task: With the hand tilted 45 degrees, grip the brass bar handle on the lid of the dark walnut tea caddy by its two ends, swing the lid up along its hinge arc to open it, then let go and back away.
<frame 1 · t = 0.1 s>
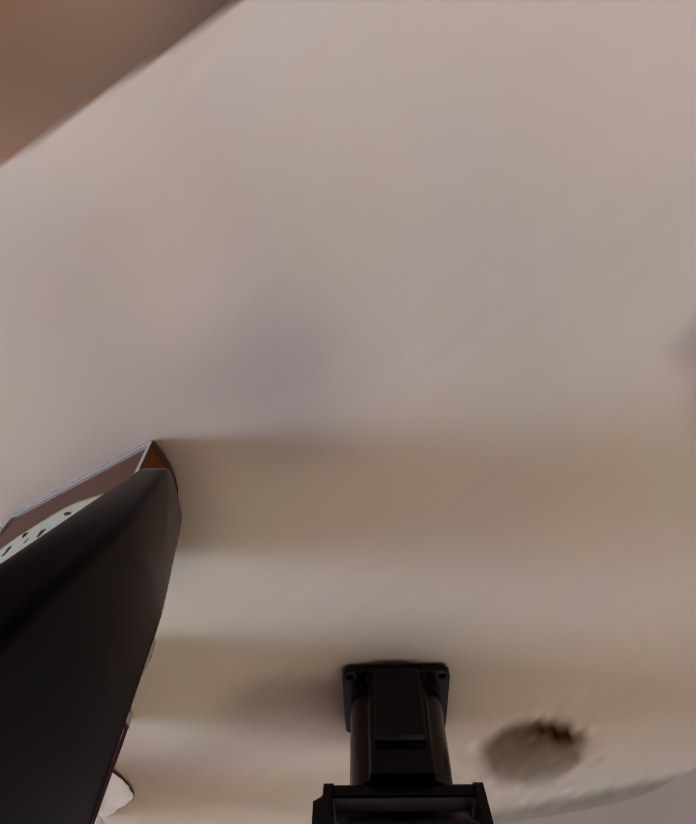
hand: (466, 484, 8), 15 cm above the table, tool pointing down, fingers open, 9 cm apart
supplement box: (80, 677, 35), on the table
food container: (123, 518, 28), on the table
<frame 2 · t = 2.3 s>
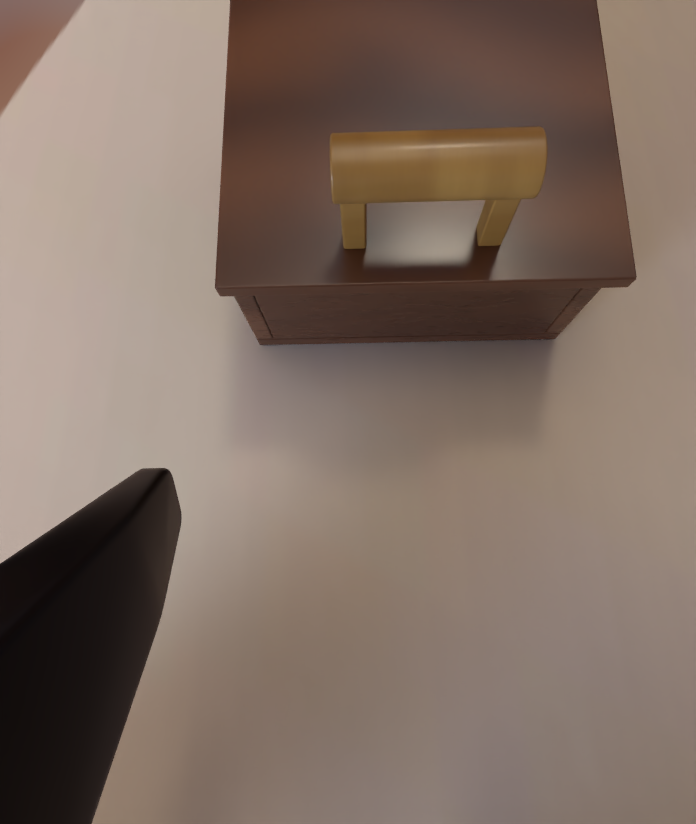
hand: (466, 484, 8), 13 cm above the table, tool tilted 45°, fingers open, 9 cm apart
caddy: (402, 231, 24), on the table
caddy lid: (421, 78, 16), point 9 cm above the table, hinge at 0.0°
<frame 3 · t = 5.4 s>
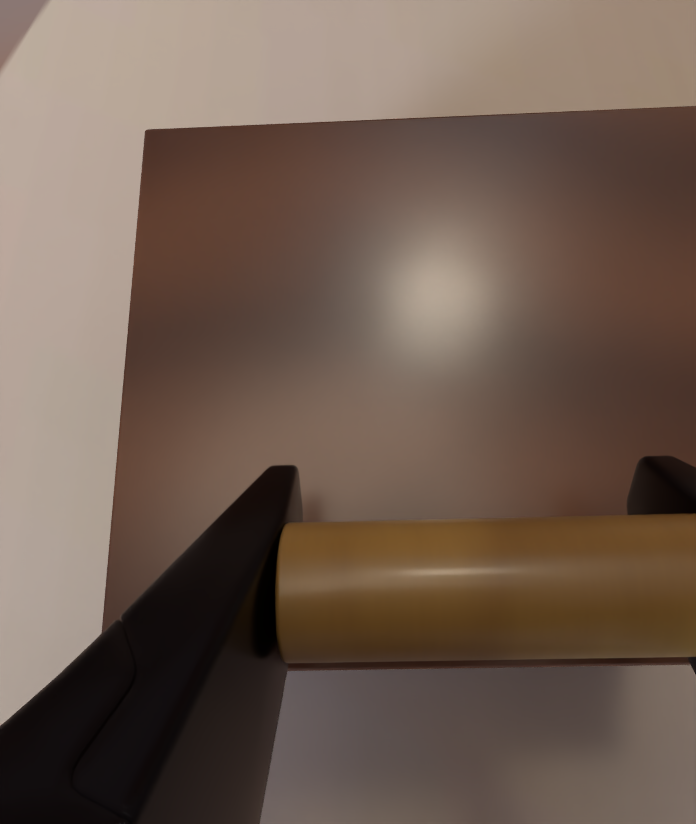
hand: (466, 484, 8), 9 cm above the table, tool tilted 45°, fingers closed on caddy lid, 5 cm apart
caddy lid: (451, 320, 9), point 9 cm above the table, hinge at 0.0°, touching gripper
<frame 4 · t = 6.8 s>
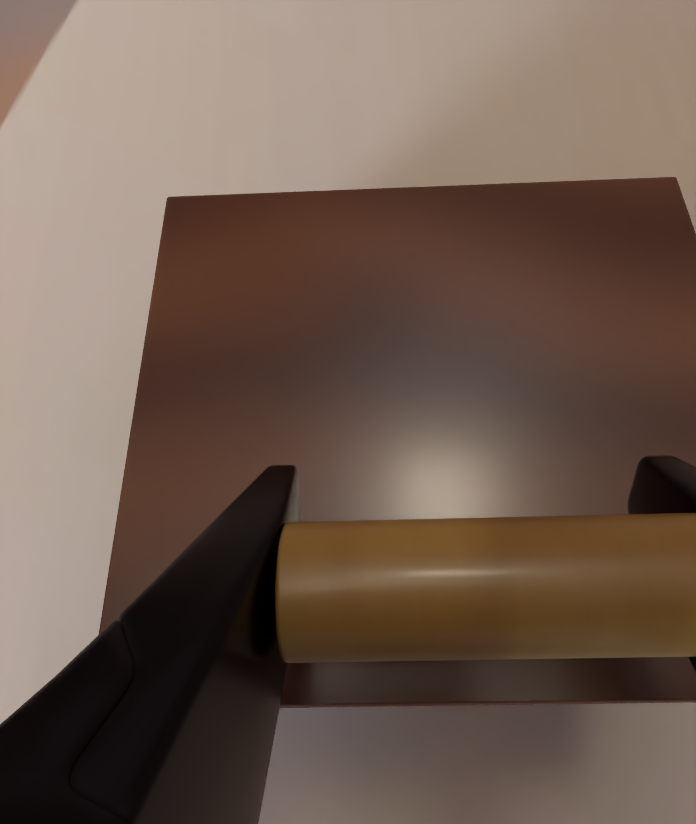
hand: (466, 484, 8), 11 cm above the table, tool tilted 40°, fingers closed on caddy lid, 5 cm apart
caddy lid: (447, 350, 10), point 10 cm above the table, hinge at 12.0°, touching gripper
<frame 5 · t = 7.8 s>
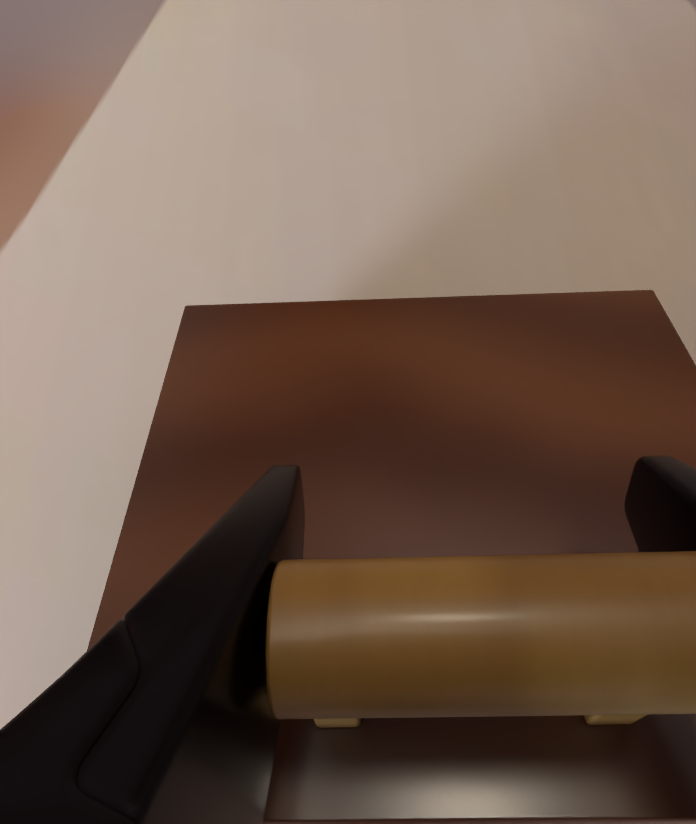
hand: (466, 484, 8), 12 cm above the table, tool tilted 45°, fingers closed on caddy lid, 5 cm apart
caddy lid: (448, 421, 10), point 11 cm above the table, hinge at 23.9°, touching gripper
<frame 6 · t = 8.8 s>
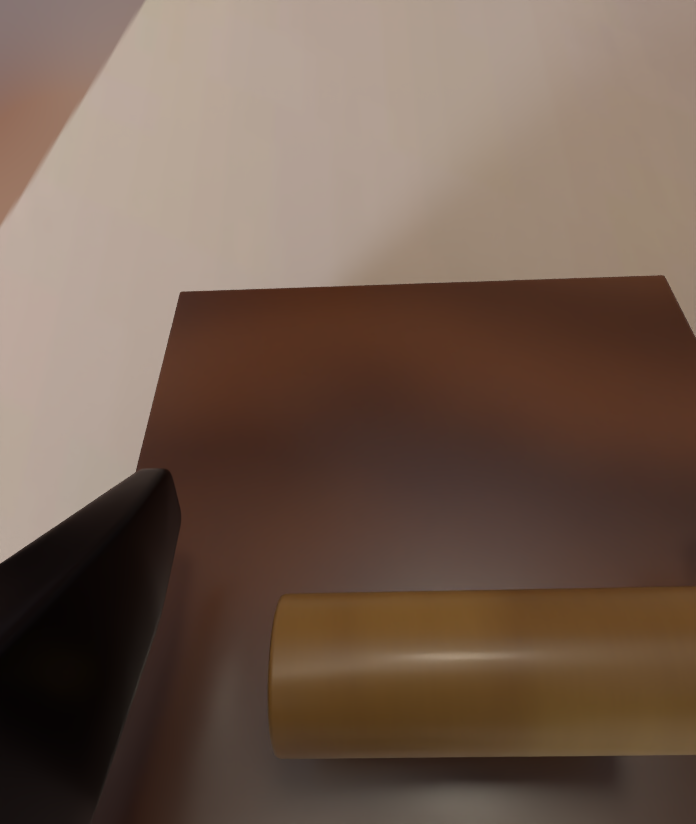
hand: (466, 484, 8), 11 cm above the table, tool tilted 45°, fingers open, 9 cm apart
caddy lid: (452, 427, 9), point 11 cm above the table, hinge at 20.8°
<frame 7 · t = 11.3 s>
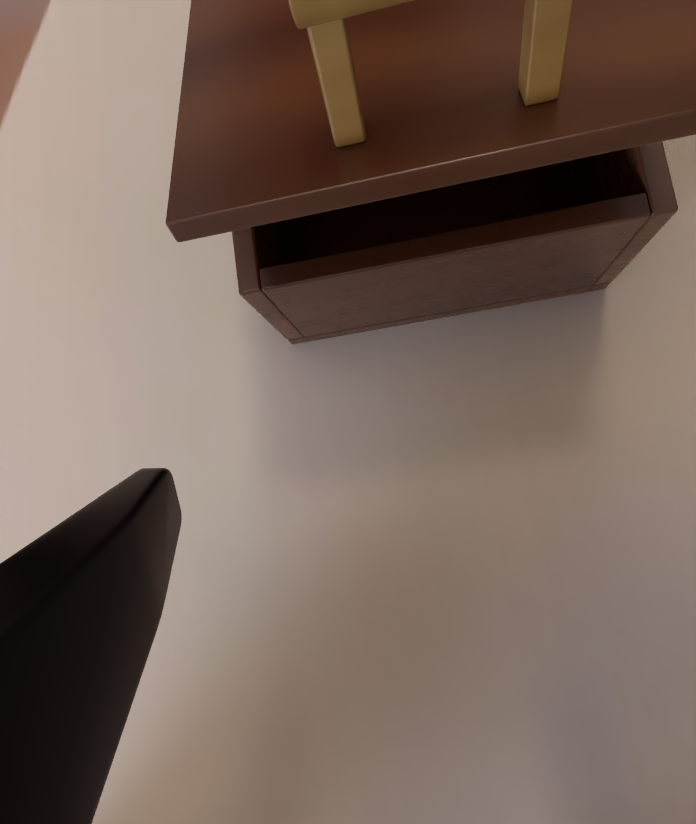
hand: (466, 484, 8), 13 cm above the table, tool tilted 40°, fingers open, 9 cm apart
caddy: (422, 195, 22), on the table
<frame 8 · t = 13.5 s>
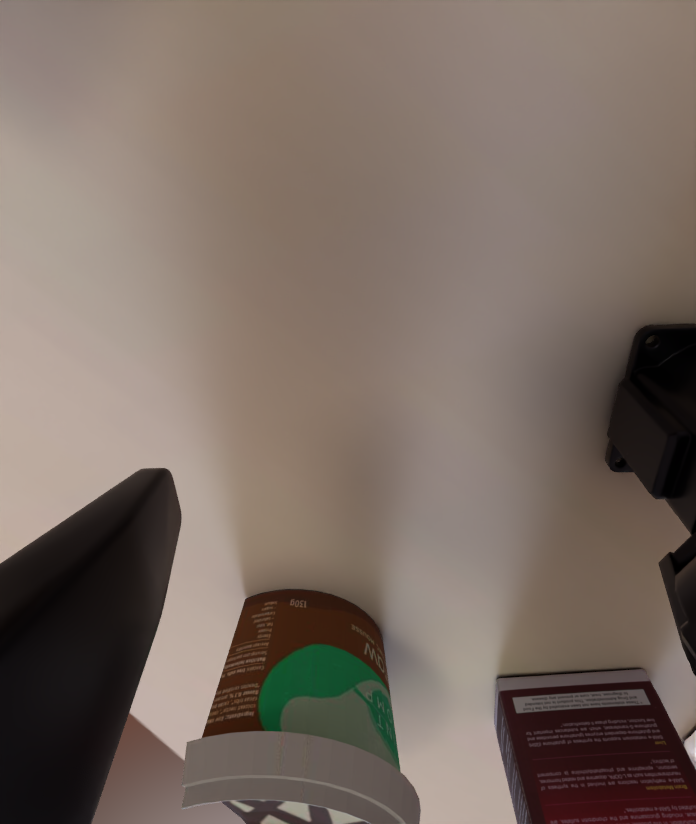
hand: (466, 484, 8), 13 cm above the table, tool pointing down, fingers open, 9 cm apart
supplement box: (566, 692, 33), on the table
food container: (342, 628, 30), on the table
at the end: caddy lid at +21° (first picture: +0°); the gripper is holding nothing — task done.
